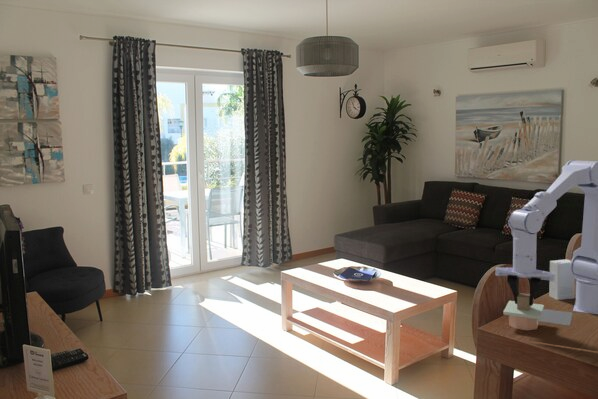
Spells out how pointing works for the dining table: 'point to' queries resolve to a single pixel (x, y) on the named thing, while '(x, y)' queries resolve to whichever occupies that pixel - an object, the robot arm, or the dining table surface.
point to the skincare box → (561, 280)
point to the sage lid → (523, 308)
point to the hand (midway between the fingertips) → (523, 303)
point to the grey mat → (556, 317)
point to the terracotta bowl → (523, 322)
